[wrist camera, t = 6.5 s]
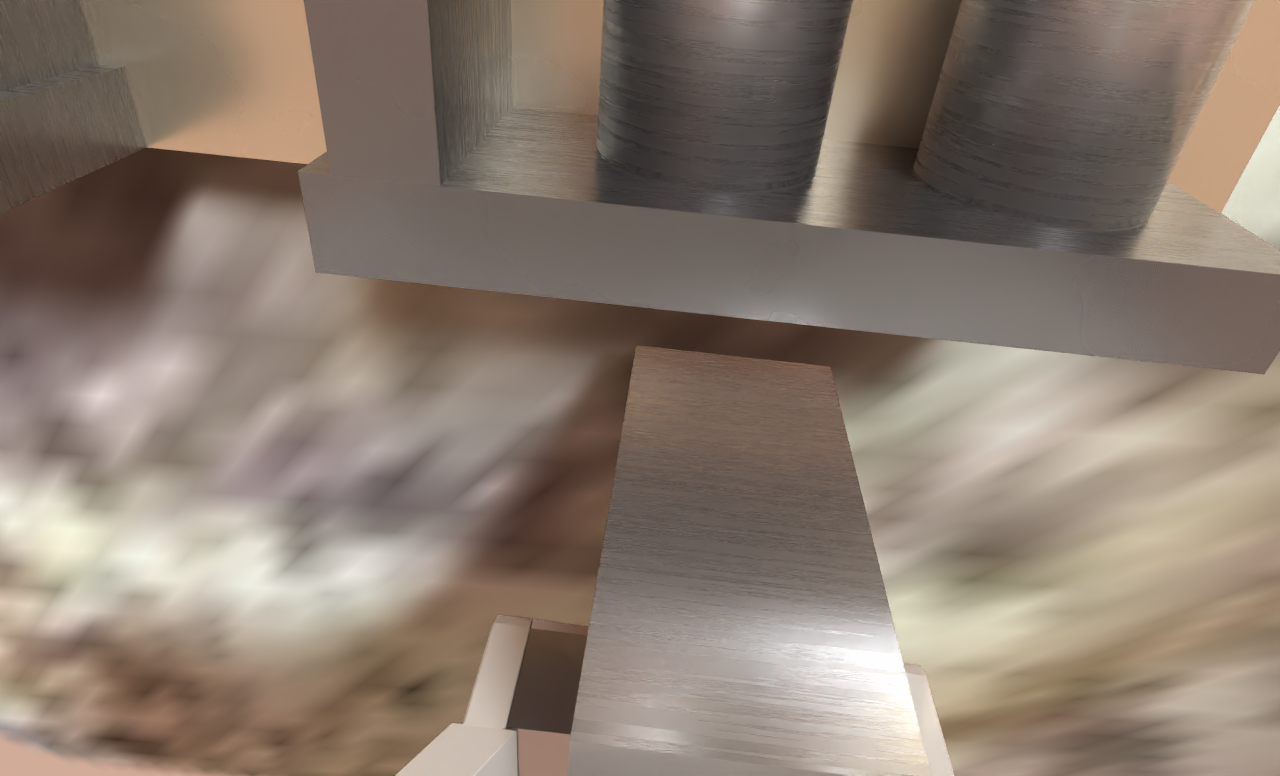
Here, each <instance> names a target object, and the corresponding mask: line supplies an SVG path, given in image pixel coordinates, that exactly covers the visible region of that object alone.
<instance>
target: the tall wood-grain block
mask: <svg viewBox="0 0 1280 776" xmlns="http://www.w3.org/2000/svg"><path fill="white" fill-rule="evenodd" d="M568 776H931V775H930V771H929V766H928V762H927V758H926V754H925V750H924V746H923V742H922V738H921V734H920V730H919V726H918V722H917V718H916V714H915V709H914V705H913V701H912V697H911V693H910V689H909V685H908V681H907V677H906V673H905V669H904V665H903V661H902V657H901V652H900V648H899V644H898V640H897V636H896V632H895V628H894V624H893V620H892V616H891V612H890V608H889V604H888V600H887V596H886V591H885V587H884V583H883V579H882V575H881V571H880V567H879V563H878V559H877V555H876V551H875V547H874V543H873V539H872V534H871V530H870V526H869V522H868V518H867V514H866V510H865V506H864V502H863V498H862V494H861V490H860V486H859V482H858V477H857V473H856V469H855V465H854V461H853V457H852V453H851V449H850V445H849V441H848V437H847V433H846V429H845V425H844V420H843V416H842V412H841V408H840V404H839V400H838V396H837V392H836V388H835V384H834V380H833V376H832V372H831V368H830V366H820V365H811V364H802V363H793V362H784V361H775V360H766V359H757V358H748V357H739V356H729V355H720V354H711V353H702V352H693V351H684V350H675V349H666V348H657V347H648V346H638V345H636V351H635V357H634V362H633V368H632V374H631V380H630V386H629V392H628V398H627V404H626V410H625V416H624V422H623V428H622V434H621V440H620V445H619V451H618V457H617V463H616V469H615V475H614V481H613V487H612V493H611V499H610V505H609V511H608V517H607V523H606V529H605V534H604V540H603V546H602V552H601V558H600V564H599V570H598V576H597V582H596V588H595V594H594V600H593V606H592V612H591V617H590V623H589V629H588V635H587V641H586V647H585V653H584V659H583V665H582V671H581V677H580V683H579V689H578V695H577V701H576V706H575V712H574V718H573V724H572V730H571V736H570V745H569V768H568Z"/></svg>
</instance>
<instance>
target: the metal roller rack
mask: <svg viewBox="0 0 1280 776" xmlns="http://www.w3.org/2000/svg"><path fill="white" fill-rule="evenodd" d="M1279 105H1280V0H0V213H2V212H4V211H6V210H9V209H11V208H13V207H15V206H17V205H20V204H22V203H24V202H26V201H29V200H31V199H33V198H35V197H37V196H40V195H42V194H44V193H46V192H49V191H51V190H53V189H55V188H57V187H60V186H62V185H64V184H66V183H69V182H71V181H73V180H75V179H77V178H80V177H82V176H84V175H86V174H88V173H91V172H93V171H95V170H97V169H100V168H102V167H104V166H106V165H108V164H111V163H113V162H115V161H117V160H120V159H122V158H124V157H126V156H128V155H131V154H133V153H135V152H137V151H140V150H142V149H144V148H146V147H148V148H158V149H167V150H177V151H186V152H196V153H205V154H215V155H224V156H234V157H243V158H253V159H262V160H272V161H282V162H291V163H301V164H307V165H306V166H304V167H303V168H301V169H300V170H298V176H299V181H300V187H301V193H302V198H303V204H304V209H305V215H306V220H307V226H308V232H309V237H310V243H311V248H312V254H313V259H314V265H315V271H316V272H318V273H327V274H337V275H346V276H355V277H364V278H374V279H383V280H392V281H402V282H411V283H420V284H430V285H439V286H448V287H457V288H467V289H476V290H485V291H495V292H504V293H513V294H523V295H532V296H541V297H550V298H560V299H569V300H578V301H588V302H597V303H606V304H616V305H625V306H634V307H643V308H653V309H662V310H671V311H681V312H690V313H699V314H709V315H718V316H727V317H736V318H746V319H755V320H764V321H774V322H783V323H792V324H802V325H811V326H820V327H830V328H839V329H848V330H857V331H867V332H876V333H885V334H895V335H904V336H913V337H923V338H932V339H941V340H950V341H960V342H969V343H978V344H988V345H997V346H1006V347H1016V348H1025V349H1034V350H1043V351H1053V352H1062V353H1071V354H1081V355H1090V356H1099V357H1109V358H1118V359H1127V360H1136V361H1146V362H1155V363H1164V364H1174V365H1183V366H1192V367H1202V368H1211V369H1220V370H1230V371H1239V372H1248V373H1257V374H1265V372H1266V371H1267V369H1268V368H1269V366H1270V365H1271V363H1272V362H1273V360H1274V359H1275V357H1276V356H1277V354H1278V353H1279V351H1280V250H1279V249H1277V248H1275V247H1274V246H1272V245H1270V244H1269V243H1267V242H1266V241H1264V240H1262V239H1261V238H1259V237H1258V236H1256V235H1254V234H1253V233H1251V232H1249V231H1248V230H1246V229H1245V228H1243V227H1241V226H1240V225H1238V224H1237V223H1235V222H1233V221H1232V220H1230V219H1228V218H1227V217H1225V216H1224V215H1222V214H1221V212H1222V210H1223V208H1224V206H1225V204H1226V203H1227V201H1228V199H1229V197H1230V195H1231V193H1232V191H1233V190H1234V188H1235V186H1236V184H1237V182H1238V180H1239V179H1240V177H1241V175H1242V173H1243V171H1244V169H1245V168H1246V166H1247V164H1248V162H1249V160H1250V158H1251V156H1252V155H1253V153H1254V151H1255V149H1256V147H1257V145H1258V144H1259V142H1260V140H1261V138H1262V136H1263V134H1264V133H1265V131H1266V129H1267V127H1268V125H1269V123H1270V121H1271V120H1272V118H1273V116H1274V114H1275V112H1276V110H1277V109H1278V107H1279Z"/></svg>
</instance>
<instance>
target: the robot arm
mask: <svg viewBox="0 0 1280 776" xmlns="http://www.w3.org/2000/svg"><path fill="white" fill-rule="evenodd" d="M588 629H589V627H588V626H581V625H574V624H567V623H560V622H553V621H546V620H539V619H533V618H525V617H517V616H509V615H501V614H498V615H497V617H496V619H495V621H494V622H493V624H492V627H491V630H490V633H489V637H488V640H487V643H486V647H485V650H484V653H483V656H482V660H481V663H480V666H479V670H478V673H477V676H476V680H475V683H474V686H473V689H472V693H471V696H470V699H469V703H468V706H467V709H466V713H465V716H464V719H463V722H462V723H452V722H451V723H450V724H449V725H448V726H447V727H446V728H445V729H444V730H443V731H442V732H441V733H440V734H438V735H437V736H436V737H435V738H434V739H433V740H432V741H431V742H430V743H429V744H428V745H427V746H426V747H425V748H423V749H422V750H421V751H420V752H419V753H418V754H417V755H416V756H415V757H414V758H413V759H412V760H411V761H410V762H409V763H407V764H406V765H405V766H404V767H403V768H402V769H401V770H400V771H399V772H398V773H397V774H396V775H395V776H568V768H569V745H570V736H571V730H572V724H573V718H574V712H575V706H576V701H577V695H578V689H579V683H580V677H581V671H582V665H583V659H584V653H585V647H586V641H587V635H588ZM903 665H904V669H905V673H906V677H907V681H908V685H909V689H910V693H911V697H912V701H913V705H914V709H915V714H916V718H917V722H918V726H919V730H920V734H921V738H922V742H923V746H924V750H925V754H926V758H927V762H928V766H929V771H930V775H931V776H954V772H953V769H952V765H951V762H950V758H949V754H948V751H947V747H946V744H945V740H944V737H943V733H942V729H941V726H940V722H939V719H938V715H937V711H936V708H935V704H934V701H933V697H932V694H931V690H930V686H929V683H928V679H927V676H926V673H925V671H924V670H923V669H922V667H921V666H920V665H917V664H909V663H903Z"/></svg>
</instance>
